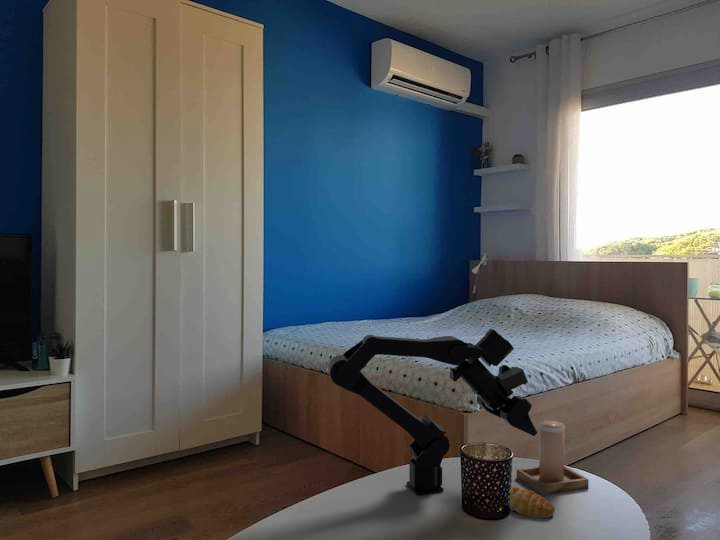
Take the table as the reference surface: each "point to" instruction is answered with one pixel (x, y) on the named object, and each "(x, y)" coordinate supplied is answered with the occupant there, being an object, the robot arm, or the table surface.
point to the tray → (570, 482)
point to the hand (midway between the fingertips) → (526, 428)
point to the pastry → (530, 503)
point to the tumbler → (551, 451)
